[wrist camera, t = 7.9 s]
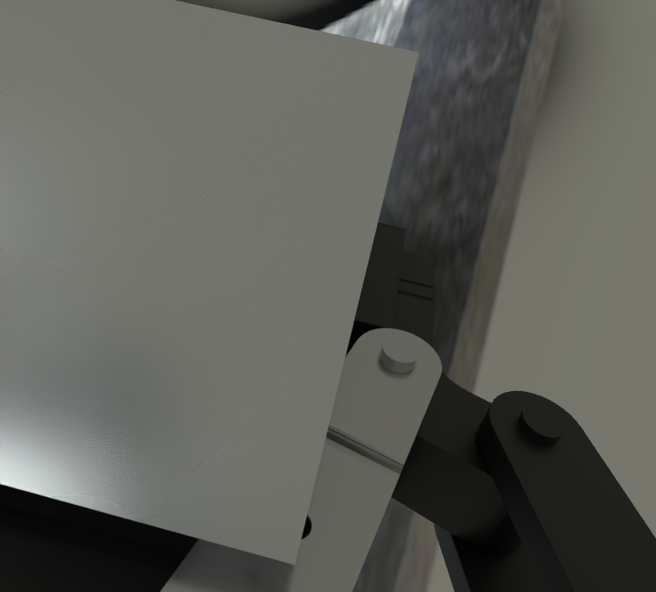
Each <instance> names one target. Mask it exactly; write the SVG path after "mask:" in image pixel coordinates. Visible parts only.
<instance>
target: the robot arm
mask: <svg viewBox="0 0 656 592" xmlns="http://www.w3.org/2000/svg"><path fill="white" fill-rule="evenodd" d="M404 234H405V229H404V228H399V227H395V226H391V225H386V224H382V223H378V224H377V228H376V232H375V236H374V240H373V244H372V248H371V252H370V257H369V261H368V265H367V269H366V273H365V277H364V281H363V286H362V290H361V294H360V298H359V302H358V306H357V310H356V314H355V319H354V323H353V327H352V331H351V335H350V339H349V343H348V348H347V352H346V356H345V360H344V364H343V368H342V372H341V377H340V381H339V385H338V389H337V393H336V397H335V401H334V405H333V410H332V414H331V418H330V422H329V426H328V430H327V434H326V439H325V443H324V447H323V451H322V455H321V459H320V463H319V467H318V472H317V476H316V480H315V484H314V488H313V492H312V496H311V501H310V505H309V509H308V513H307V517H306V521H305V525H304V529H303V534H302V538H301V542H300V546H299V550H298V554H297V558H296V563H295V565H293V564H290V563H286V562H282V561H279V560H275V559H272V558H268V557H264V556H261V555H257V554H253V553H250V552H246V551H243V550H239V549H235V548H232V547H228V546H224V545H221V544H217V543H213V542H210V541H206V540H203V539H199V538H195V537H192V536H188V535H184V534H181V533H177V532H174V531H170V530H166V529H163V528H159V527H155V526H152V525H148V524H144V523H141V522H137V521H134V520H130V519H126V518H123V517H119V516H115V515H112V514H108V513H105V512H101V511H97V510H94V509H90V508H86V507H83V506H79V505H75V504H72V503H68V502H65V501H61V500H57V499H54V498H50V497H46V496H43V495H39V494H36V493H32V492H28V491H25V490H21V489H17V488H14V487H10V486H6V485H3V484H0V592H352V590H353V588H354V585H355V583H356V581H357V578H358V576H359V573H360V571H361V568H362V566H363V564H364V561H365V559H366V556H367V554H368V551H369V549H370V547H371V544H372V542H373V539H374V537H375V534H376V532H377V530H378V527H379V525H380V522H381V520H382V517H383V515H384V513H385V510H386V508H387V505H388V503H389V500H390V498H391V497H392V498H394V499H396V500H397V501H399V502H400V503H402V504H404V505H405V506H407V507H409V508H410V509H412V510H413V511H415V512H417V513H418V514H420V515H422V516H423V517H425V518H427V519H428V520H430V521H431V522H433V523H434V528H435V532H436V535H437V538H438V541H439V545H440V548H441V551H442V554H443V557H444V560H445V563H446V567H447V570H448V573H449V576H450V579H451V582H452V585H453V588H454V591H455V592H656V538H655V537H654V535H653V534H652V532H651V531H650V529H649V528H648V526H647V525H646V523H645V522H644V520H643V519H642V517H641V516H640V514H639V513H638V511H637V510H636V508H635V507H634V506H633V504H632V502H631V501H630V499H629V498H628V496H627V495H626V493H625V492H624V491H623V489H622V487H621V486H620V484H619V483H618V481H617V480H616V479H615V477H614V475H613V474H612V473H611V471H610V470H609V468H608V467H607V465H606V464H605V462H604V461H603V459H602V458H601V456H600V455H599V453H598V452H597V451H596V449H595V447H594V446H593V444H592V443H591V441H590V440H589V438H588V437H587V435H586V434H585V432H584V431H583V429H582V428H581V427H580V425H579V424H578V423H577V421H576V420H575V419H574V418H573V417H572V416H571V415H570V414H569V413H568V412H566V411H565V410H564V409H563V408H561V407H560V406H559V405H557V404H556V403H554V402H552V401H550V400H548V399H546V398H544V397H542V396H539V395H536V394H533V393H529V392H524V391H510V392H506V393H503V394H501V395H499V396H497V397H496V398H495V399H494V400H493V402H492V403H490V402H488V401H486V400H484V399H482V398H480V397H478V396H476V395H474V394H472V393H470V392H468V391H466V390H465V389H463V388H461V387H459V386H458V385H457V384H455V383H454V382H452V381H451V380H450V379H449V378H448V377H447V376H446V375H445V374H444V373H443V372H442V364H441V360H440V358H439V356H438V354H437V353H436V352H435V350H434V349H433V348H432V320H433V302H432V300H433V289H432V288H433V270H432V269H431V267H430V266H429V264H428V262H427V261H426V259H425V258H424V256H420V255H415V254H411V253H407V252H403V251H402V250H403V242H404Z"/></svg>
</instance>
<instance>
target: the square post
mask: <svg viewBox="0 0 656 592" xmlns="http://www.w3.org/2000/svg"><path fill="white" fill-rule="evenodd" d="M418 54H419V52H415V51H410V50H405V49H401V48H396V47H391V46H386V45H382V44H377V43H372V42H368V41H363V40H358V39H354V38H349V37H344V36H340V35H335V34H330V33H326V32H321V31H316V30H311V29H307V28H301V27H297V26H293V25H288V24H283V23H279V22H274V21H269V20H265V19H260V18H255V17H250V16H245V15H241V14H236V13H232V12H227V11H222V10H218V9H213V8H208V7H203V6H199V5H194V4H189V3H184V2H180V1H175V0H0V484H3V485H6V486H10V487H14V488H17V489H21V490H25V491H28V492H32V493H36V494H39V495H43V496H46V497H50V498H54V499H57V500H61V501H65V502H68V503H72V504H75V505H79V506H83V507H86V508H90V509H94V510H97V511H101V512H105V513H108V514H112V515H115V516H119V517H123V518H126V519H130V520H134V521H137V522H141V523H144V524H148V525H152V526H155V527H159V528H163V529H166V530H170V531H174V532H177V533H181V534H184V535H188V536H192V537H195V538H199V539H203V540H206V541H210V542H213V543H217V544H221V545H224V546H228V547H232V548H235V549H239V550H243V551H246V552H250V553H253V554H257V555H261V556H264V557H268V558H272V559H275V560H279V561H282V562H286V563H290V564H293V565H295V563H296V558H297V554H298V550H299V546H300V542H301V538H302V534H303V529H304V525H305V521H306V517H307V513H308V509H309V505H310V501H311V496H312V492H313V488H314V484H315V480H316V476H317V472H318V467H319V463H320V459H321V455H322V451H323V447H324V443H325V439H326V434H327V430H328V426H329V422H330V418H331V414H332V410H333V405H334V401H335V397H336V393H337V389H338V385H339V381H340V377H341V372H342V368H343V364H344V360H345V356H346V352H347V348H348V343H349V339H350V335H351V331H352V327H353V323H354V319H355V314H356V310H357V306H358V302H359V298H360V294H361V290H362V286H363V281H364V277H365V273H366V269H367V265H368V261H369V257H370V252H371V248H372V244H373V240H374V236H375V232H376V228H377V224H378V219H379V215H380V211H381V207H382V203H383V199H384V195H385V190H386V186H387V182H388V178H389V174H390V170H391V166H392V162H393V157H394V153H395V149H396V145H397V141H398V137H399V133H400V128H401V124H402V120H403V116H404V112H405V108H406V104H407V100H408V95H409V91H410V87H411V83H412V79H413V75H414V71H415V66H416V62H417V58H418Z"/></svg>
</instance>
